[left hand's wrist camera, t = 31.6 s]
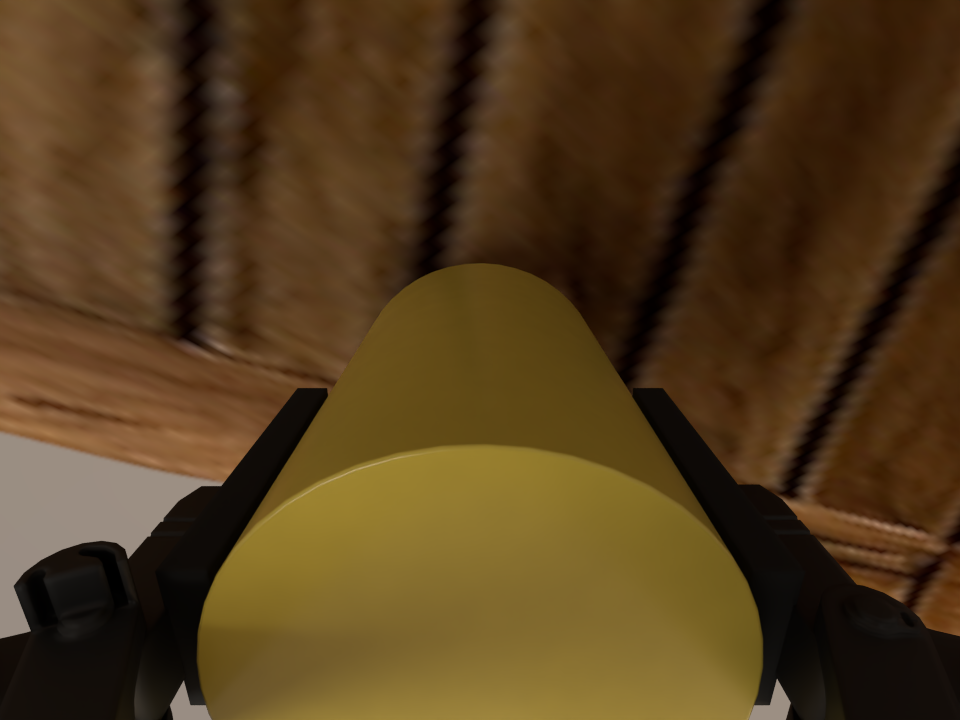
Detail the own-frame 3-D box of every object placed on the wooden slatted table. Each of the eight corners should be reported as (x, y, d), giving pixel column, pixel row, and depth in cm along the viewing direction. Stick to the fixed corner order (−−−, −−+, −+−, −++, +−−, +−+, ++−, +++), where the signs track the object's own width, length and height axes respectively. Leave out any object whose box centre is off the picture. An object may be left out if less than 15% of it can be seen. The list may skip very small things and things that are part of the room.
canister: (507, 210, 16) (558, 312, 6) (642, 403, 18) (858, 732, 8) (311, 357, 18) (71, 649, 7) (457, 518, 20) (434, 916, 10)
